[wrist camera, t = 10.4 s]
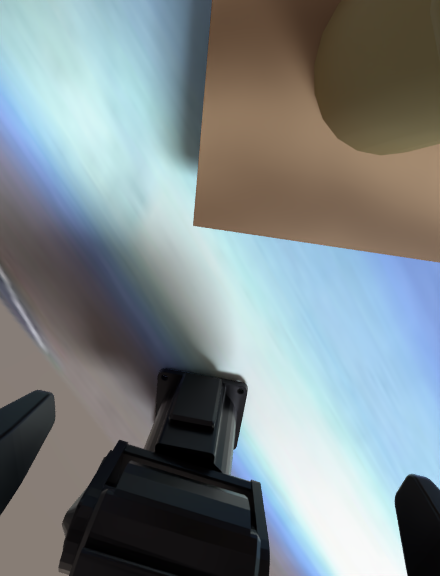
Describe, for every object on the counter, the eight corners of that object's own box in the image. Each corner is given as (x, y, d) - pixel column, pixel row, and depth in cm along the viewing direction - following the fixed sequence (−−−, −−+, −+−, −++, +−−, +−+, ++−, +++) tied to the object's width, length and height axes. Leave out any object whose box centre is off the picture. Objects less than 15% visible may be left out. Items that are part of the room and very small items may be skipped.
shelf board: (490, 263, 15) (507, 272, 14) (197, 219, 16) (193, 225, 15) (716, -188, 10) (774, -230, 8) (237, -218, 10) (233, -259, 9)
